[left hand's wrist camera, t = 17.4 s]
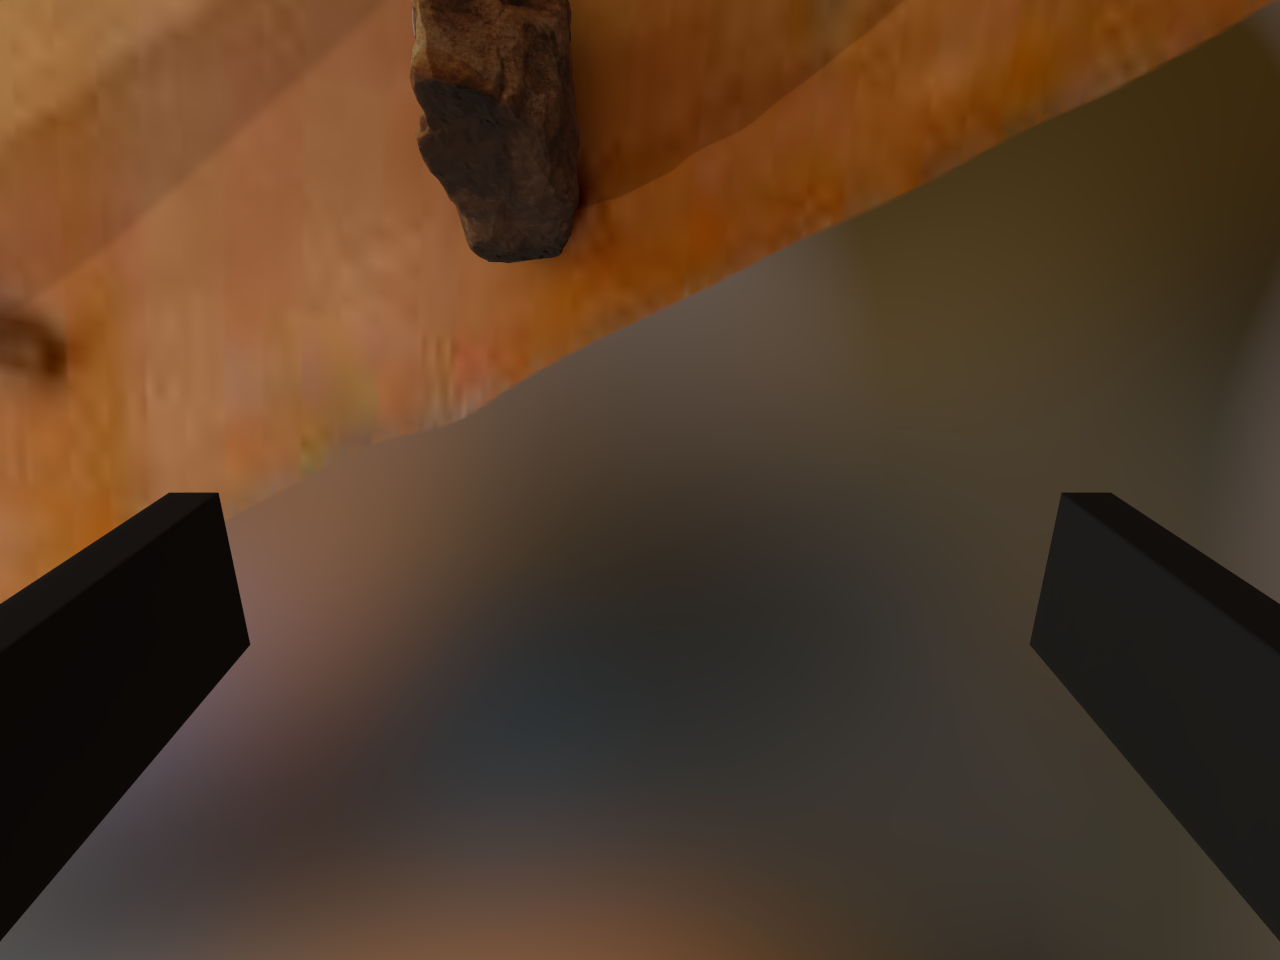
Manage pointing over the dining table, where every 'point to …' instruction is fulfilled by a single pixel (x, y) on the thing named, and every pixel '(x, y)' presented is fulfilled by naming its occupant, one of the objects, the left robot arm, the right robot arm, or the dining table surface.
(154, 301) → the dining table surface
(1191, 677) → the left robot arm
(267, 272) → the dining table surface
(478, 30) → the decorative rock
